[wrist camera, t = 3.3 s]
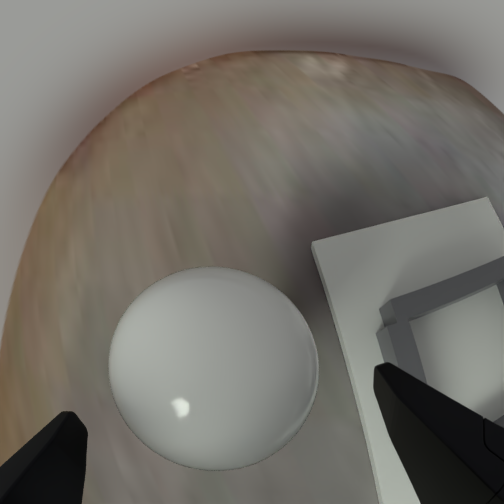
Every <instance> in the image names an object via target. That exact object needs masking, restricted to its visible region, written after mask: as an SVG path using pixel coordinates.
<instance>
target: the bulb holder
mask: <svg viewBox="0 0 504 504" xmlns="http://www.w3.org/2000/svg"><path fill="white" fill-rule="evenodd" d="M311 251H312V254H313V257H314V260H315V263H316V266H317V269H318V272H319V275H320V278H321V282H322V285H323V288H324V291H325V294H326V298H327V301H328V304H329V307H330V311H331V314H332V317H333V321H334V324H335V327H336V331H337V334H338V338H339V341H340V344H341V348H342V351H343V355H344V359H345V362H346V366H347V369H348V373H349V377H350V380H351V384H352V388H353V392H354V396H355V399H356V403H357V407H358V411H359V415H360V419H361V423H362V427H363V431H364V436H365V440H366V444H367V448H368V453H369V457H370V462H371V466H372V471H373V475H374V480H375V485H376V490H377V494H378V499H379V504H420V501H419V499H418V497H417V495H416V493H415V490H414V488H413V486H412V484H411V482H410V480H409V477H408V475H407V473H406V471H405V469H404V467H403V465H402V463H401V460H400V458H399V456H398V454H397V452H396V450H395V448H394V446H393V444H392V442H391V439H390V437H389V434H388V432H387V429H386V426H385V423H384V420H383V417H382V414H381V411H380V408H379V405H378V402H377V399H376V397H375V394H374V390H373V377H374V367H375V366H376V365H379V364H382V363H385V362H390V363H392V364H394V365H395V366H397V367H399V368H400V369H402V370H404V371H406V372H407V373H409V374H411V375H412V376H414V377H416V378H417V379H419V380H421V381H422V382H424V383H426V384H428V385H429V386H431V387H433V388H434V389H436V390H438V391H440V392H441V393H443V394H445V395H446V396H448V397H450V398H452V399H453V400H455V401H457V402H459V403H460V404H462V405H464V406H466V407H467V408H469V409H471V410H473V411H474V412H476V413H478V414H480V415H481V416H483V418H487V419H489V420H490V421H492V422H494V423H496V424H498V425H500V426H502V427H504V228H503V226H502V224H501V222H500V220H499V218H498V216H497V214H496V212H495V210H494V208H493V206H492V204H491V203H490V201H489V199H488V197H484V198H480V199H477V200H473V201H469V202H465V203H461V204H457V205H453V206H449V207H446V208H442V209H438V210H434V211H430V212H426V213H422V214H418V215H415V216H411V217H407V218H403V219H399V220H395V221H391V222H387V223H383V224H379V225H375V226H372V227H368V228H364V229H360V230H356V231H352V232H348V233H344V234H340V235H336V236H332V237H328V238H324V239H320V240H316V241H312V245H311Z"/></svg>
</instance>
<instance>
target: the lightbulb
mask: <svg viewBox="0 0 504 504" xmlns="http://www.w3.org/2000/svg"><path fill="white" fill-rule="evenodd" d="M108 375H109V383H110V388H111V392H112V395H113V399H114V401H115V404H116V406H117V409H118V411H119V413H120V415H121V416H122V418H123V420H124V421H125V423H126V424H127V426H128V427H129V429H130V430H131V431H132V432H133V433H134V435H135V436H136V437H137V438H138V439H139V440H140V441H141V442H142V443H143V444H145V445H146V446H147V447H148V448H150V449H151V450H152V451H154V452H155V453H157V454H158V455H160V456H162V457H163V458H165V459H167V460H169V461H172V462H174V463H176V464H179V465H182V466H185V467H189V468H193V469H198V470H206V471H227V470H234V469H240V468H244V467H247V466H250V465H253V464H256V463H258V462H261V461H263V460H265V459H266V458H268V457H270V456H272V455H273V454H275V453H276V452H278V451H279V450H280V449H282V448H283V447H284V446H285V445H286V444H287V443H288V442H289V441H290V440H291V439H292V438H293V437H294V436H295V435H296V434H297V433H298V431H299V430H300V429H301V427H302V426H303V424H304V423H305V421H306V419H307V417H308V415H309V414H310V411H311V409H312V407H313V404H314V401H315V398H316V394H317V389H318V382H319V359H318V352H317V348H316V344H315V340H314V337H313V335H312V332H311V330H310V328H309V326H308V324H307V322H306V320H305V318H304V317H303V315H302V314H301V312H300V311H299V309H298V308H297V307H296V306H295V304H294V303H293V302H292V301H291V300H290V299H289V298H288V297H287V296H286V295H285V294H284V293H282V292H281V291H280V290H279V289H277V288H276V287H275V286H273V285H272V284H270V283H269V282H267V281H265V280H263V279H261V278H259V277H257V276H255V275H253V274H250V273H247V272H244V271H241V270H237V269H233V268H227V267H216V266H205V267H195V268H189V269H185V270H181V271H178V272H175V273H172V274H170V275H168V276H166V277H164V278H162V279H160V280H158V281H156V282H155V283H153V284H152V285H150V286H149V287H147V288H146V289H145V290H144V291H142V292H141V293H140V294H139V295H138V296H137V297H136V298H135V299H134V300H133V301H132V303H131V304H130V305H129V306H128V308H127V309H126V311H125V312H124V314H123V315H122V317H121V319H120V320H119V322H118V324H117V327H116V329H115V332H114V334H113V337H112V341H111V345H110V350H109V358H108Z"/></svg>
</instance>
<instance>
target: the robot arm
mask: <svg viewBox="0 0 504 504" xmlns="http://www.w3.org/2000/svg"><path fill="white" fill-rule="evenodd" d="M373 390H374V394H375V397H376V399H377V402H378V405H379V408H380V411H381V414H382V417H383V420H384V423H385V426H386V429H387V432H388V434H389V437H390V439H391V442H392V444H393V446H394V448H395V450H396V452H397V454H398V456H399V458H400V460H401V463H402V465H403V467H404V469H405V471H406V473H407V475H408V477H409V480H410V482H411V484H412V486H413V488H414V490H415V493H416V495H417V497H418V499H419V501H420V504H504V427H502V426H500V425H498V424H496V423H494V422H492V421H490V420H489V419H487V418H483V416H481V415H480V414H478V413H476V412H474V411H473V410H471V409H469V408H467V407H466V406H464V405H462V404H460V403H459V402H457V401H455V400H453V399H452V398H450V397H448V396H446V395H445V394H443V393H441V392H440V391H438V390H436V389H434V388H433V387H431V386H429V385H428V384H426V383H424V382H422V381H421V380H419V379H417V378H416V377H414V376H412V375H411V374H409V373H407V372H406V371H404V370H402V369H400V368H399V367H397V366H395V365H394V364H392V363H390V362H385V363H382V364H379V365H376V366H375V367H374V377H373ZM87 438H88V432H87V429H86V427H85V425H84V424H83V423H82V422H81V420H80V419H79V418H78V416H77V415H76V414H75V413H74V412H72V411H63V412H61V413H60V414H59V415H57V416H56V417H55V418H54V419H53V420H52V421H51V422H50V423H48V424H47V425H46V426H45V427H44V428H43V429H42V430H41V431H40V432H38V433H37V434H36V435H35V436H34V437H33V438H32V439H31V440H29V441H28V442H27V443H26V444H25V445H24V446H23V447H22V448H21V449H19V450H18V451H17V452H16V453H15V454H14V455H13V456H12V457H11V458H9V459H8V460H7V461H6V462H5V463H4V464H3V465H2V466H1V467H0V504H82V496H83V488H84V481H85V472H86V454H87Z"/></svg>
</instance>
